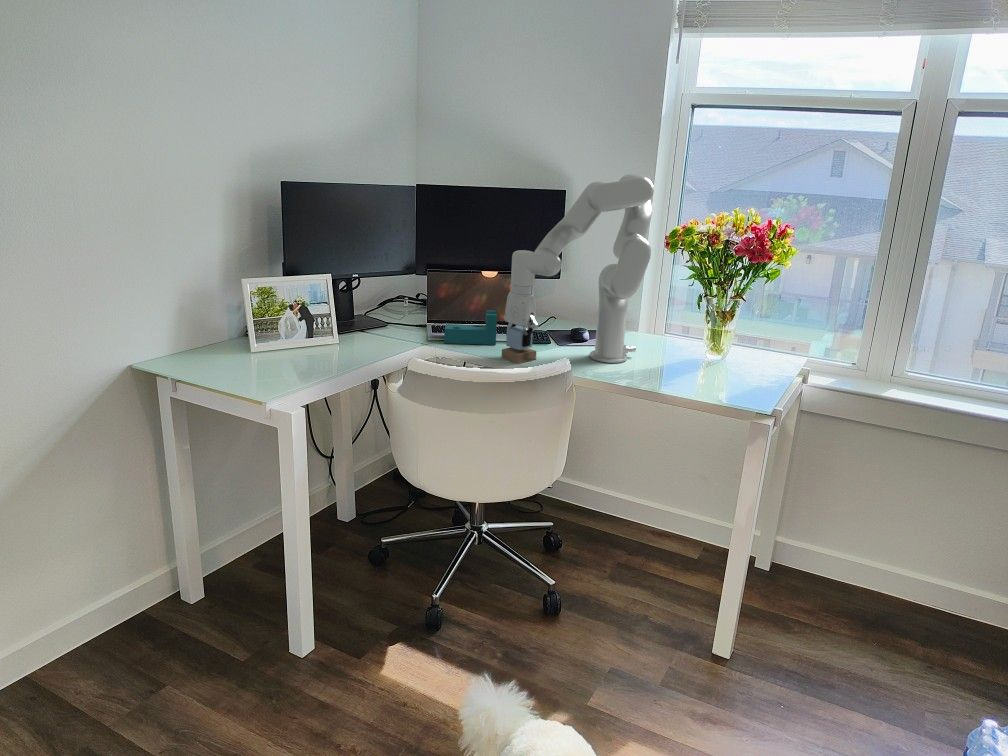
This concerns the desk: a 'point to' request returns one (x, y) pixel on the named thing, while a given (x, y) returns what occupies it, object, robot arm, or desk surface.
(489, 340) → the teal l-shaped bracket
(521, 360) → the walnut base
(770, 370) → the desk surface
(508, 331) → the blue cube
